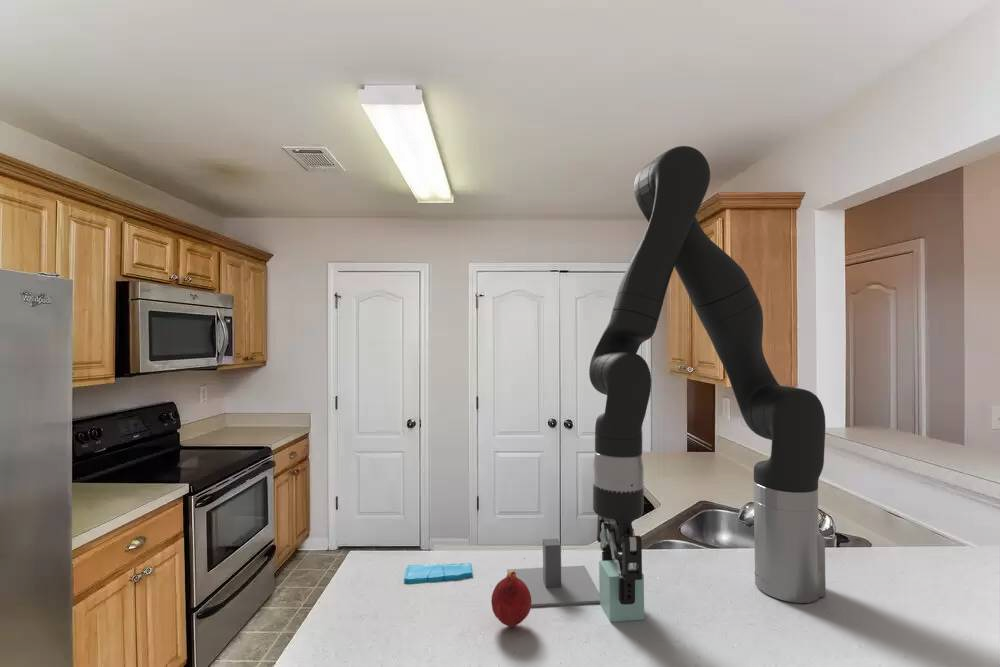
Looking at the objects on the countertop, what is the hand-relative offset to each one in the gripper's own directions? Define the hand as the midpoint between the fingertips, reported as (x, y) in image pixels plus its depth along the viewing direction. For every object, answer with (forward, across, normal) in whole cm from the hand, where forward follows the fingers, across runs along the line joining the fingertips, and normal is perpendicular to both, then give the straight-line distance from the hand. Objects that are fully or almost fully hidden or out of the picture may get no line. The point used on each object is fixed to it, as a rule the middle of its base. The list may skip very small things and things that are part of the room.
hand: (617, 588), depth 77 cm
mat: (+4, +8, +8) cm, 13 cm away
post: (+4, +8, +8) cm, 13 cm away
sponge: (+4, +14, +28) cm, 32 cm away
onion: (+4, -2, +16) cm, 17 cm away
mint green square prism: (+3, 0, -1) cm, 3 cm away
